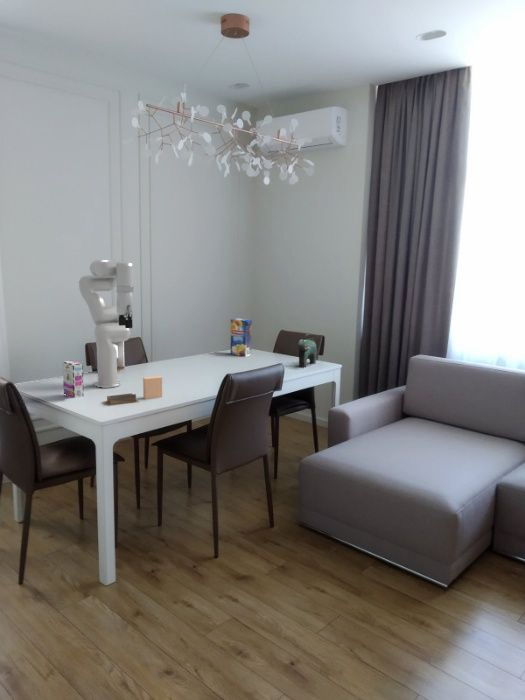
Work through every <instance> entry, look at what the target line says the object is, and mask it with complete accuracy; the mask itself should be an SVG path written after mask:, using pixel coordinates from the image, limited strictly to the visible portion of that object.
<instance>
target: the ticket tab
mask: <svg viewBox="0 0 525 700" xmlns="http://www.w3.org/2000/svg"><path fill="white" fill-rule="evenodd" d="M142 382H143V383H142V385H143V387H142V388H143V390H142V392H143V393H142V395H143V398H142V399H145V400H148V399H149V400H150V399H159V398H163V377H162V376H160V375H158V376H146V377H145V376H144V377H143V378H142Z"/></svg>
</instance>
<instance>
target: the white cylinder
mask: <svg viewBox="0 0 525 700" xmlns="http://www.w3.org/2000/svg"><path fill="white" fill-rule="evenodd" d="M94 324H95V323H94ZM96 326H97V325H96V324H95V327H96ZM111 344H112V345H113V346H114V347H115V349H116V352H117V374H119V373H121V372H124V371H125V341H120V342H112V343H111ZM123 370H124V371H123ZM120 371H121V372H120ZM97 372H98V368H97V369H96V373H97ZM118 372H119V373H118Z"/></svg>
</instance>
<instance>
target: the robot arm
mask: <svg viewBox="0 0 525 700" xmlns="http://www.w3.org/2000/svg"><path fill="white" fill-rule="evenodd" d="M89 271H90V273H91V274H87V275H83V276H81V277H80V279H79V281H78V289H79V293H80V296H81V297H82V299H83V300H84V301H85V303H86V305H87V307H88V311H89V312H90V313H89V314H90V316H91V319H92V321H93V323H94V324H96V325H97V326H95V327H94V331H93V333H94V338H95V344H96V359H97V369H98V373H97V381H96V382H94V386H95V387H96V386H97V387H96V388H99V387H102V389H111V388H116V387H120V386H121V382H120V381H118V373H117V352H116V349H115V347H114V346H113V345H112V344H111V343H112V342H120V341H124V342H126V341H128V340H129V339H130V338H131V329H132V328H133V319H134V318H133V316H134V315H133V311H134V307H133V306H134V305H133V304H134V303H133V294H134V265H133V263H132V262H128V261H123V260H121V261H120V260H115V259H114V260H113V259H96V260H94V261H91V263H90V266H89ZM114 288H116V289H115V291H116V305H112V306H108V305H106V302H105V300H104V298H103V297H102V296H101V295H100V294H98V293H97V292H110V291H113V290H114Z"/></svg>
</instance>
